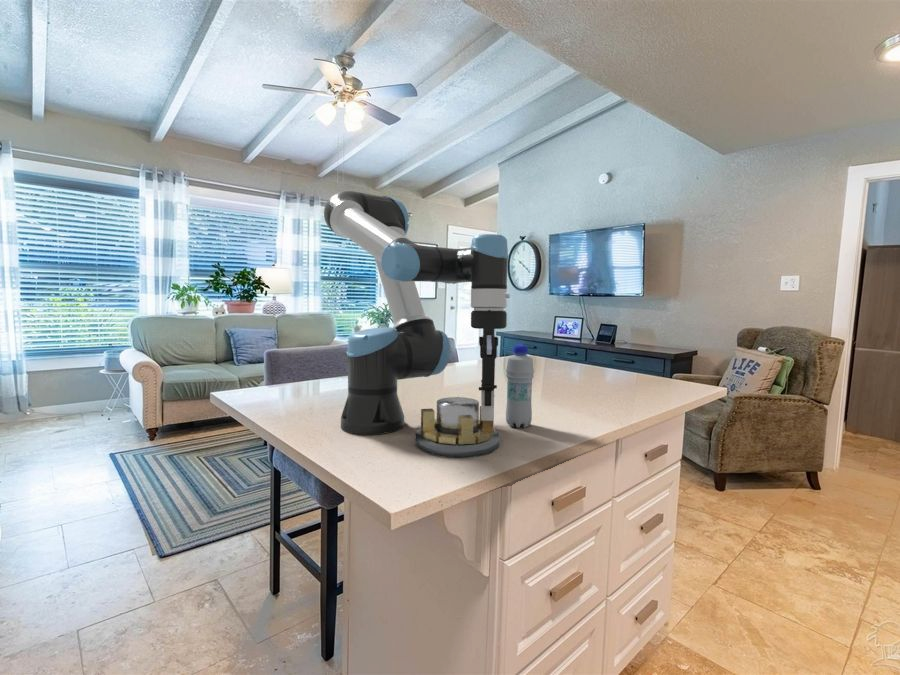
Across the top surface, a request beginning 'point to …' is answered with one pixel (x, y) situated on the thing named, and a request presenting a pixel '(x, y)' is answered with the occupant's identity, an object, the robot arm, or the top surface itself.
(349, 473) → the top surface
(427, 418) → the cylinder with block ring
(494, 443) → the cap plate
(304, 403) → the top surface
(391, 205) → the robot arm
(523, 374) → the bottle
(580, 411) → the top surface
